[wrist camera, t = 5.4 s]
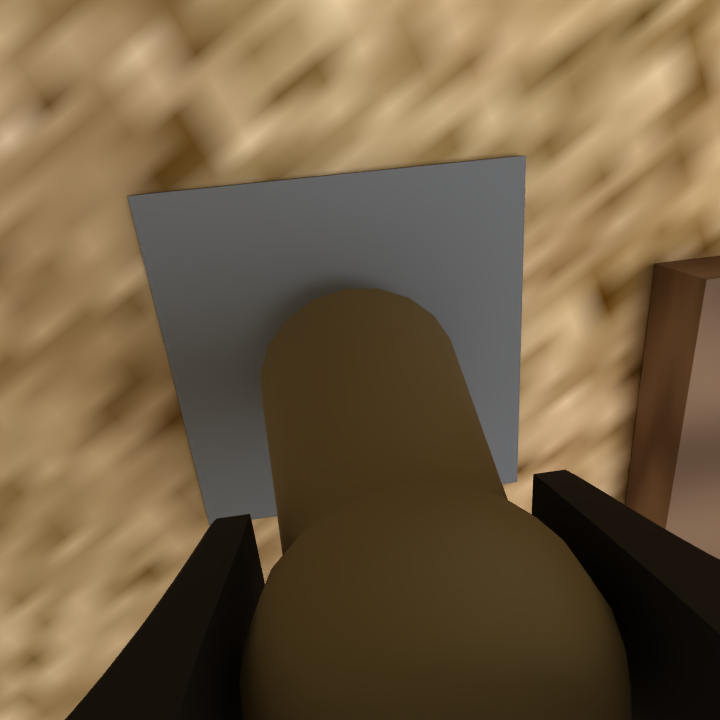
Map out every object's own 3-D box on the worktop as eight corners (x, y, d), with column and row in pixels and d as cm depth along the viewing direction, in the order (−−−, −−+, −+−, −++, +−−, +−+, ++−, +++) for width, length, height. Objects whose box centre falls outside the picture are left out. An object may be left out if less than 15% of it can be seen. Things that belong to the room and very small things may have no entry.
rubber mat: (512, 474, 21) (516, 481, 20) (211, 517, 20) (209, 525, 20) (519, 155, 16) (525, 155, 16) (132, 194, 16) (127, 196, 15)
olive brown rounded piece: (359, 499, 17) (437, 988, 7) (217, 389, 15) (56, 864, 5) (496, 379, 16) (816, 772, 6) (362, 242, 14) (512, 498, 4)
